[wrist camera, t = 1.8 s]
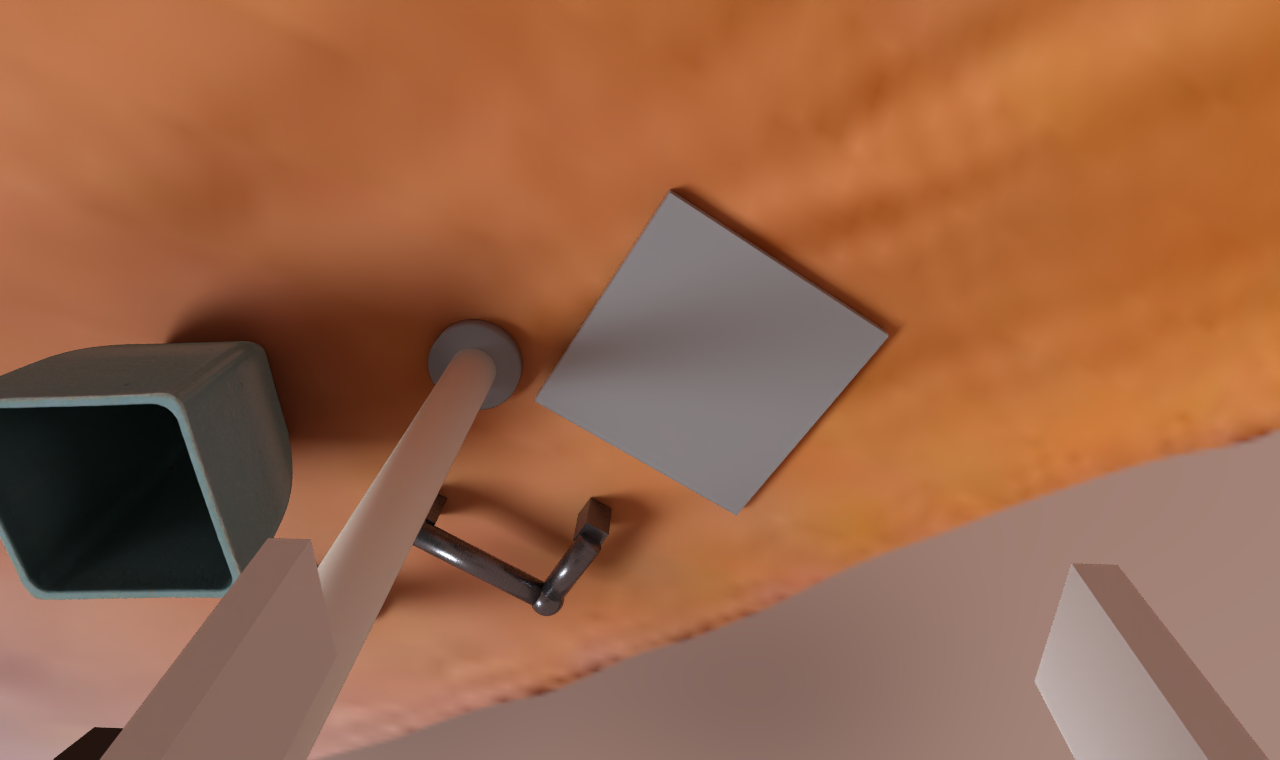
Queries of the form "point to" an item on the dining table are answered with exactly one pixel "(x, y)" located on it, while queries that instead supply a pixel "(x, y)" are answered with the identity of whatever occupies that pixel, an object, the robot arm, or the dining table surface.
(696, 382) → the tile
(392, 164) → the dining table surface
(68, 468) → the flower pot
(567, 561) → the bent rail
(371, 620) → the post
